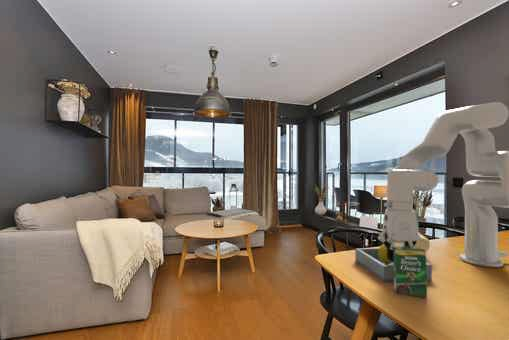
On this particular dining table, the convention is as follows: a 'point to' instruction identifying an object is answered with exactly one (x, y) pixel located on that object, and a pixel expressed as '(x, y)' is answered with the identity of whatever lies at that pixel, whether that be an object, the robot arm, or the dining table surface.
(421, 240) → the sculpture
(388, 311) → the dining table surface
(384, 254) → the lemon
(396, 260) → the coffee box
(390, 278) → the tote
